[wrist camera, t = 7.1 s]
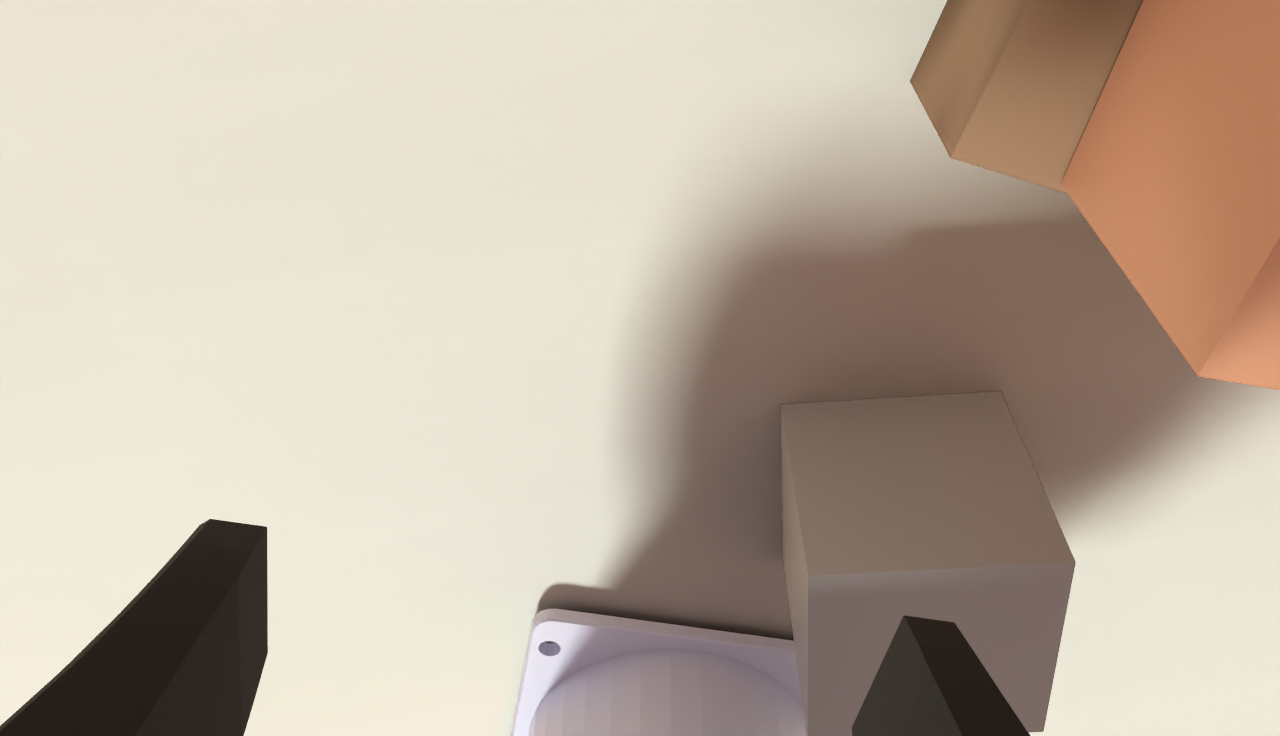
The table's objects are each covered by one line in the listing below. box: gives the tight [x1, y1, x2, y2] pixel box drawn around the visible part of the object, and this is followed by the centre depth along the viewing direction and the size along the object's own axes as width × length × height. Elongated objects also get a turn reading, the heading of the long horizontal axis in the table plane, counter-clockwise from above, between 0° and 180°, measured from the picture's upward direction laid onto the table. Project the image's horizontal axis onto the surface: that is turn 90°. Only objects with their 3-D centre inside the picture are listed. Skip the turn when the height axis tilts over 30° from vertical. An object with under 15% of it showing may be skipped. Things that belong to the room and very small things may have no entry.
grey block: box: [781, 391, 1075, 736], centre depth 22 cm, size 4×4×5 cm
